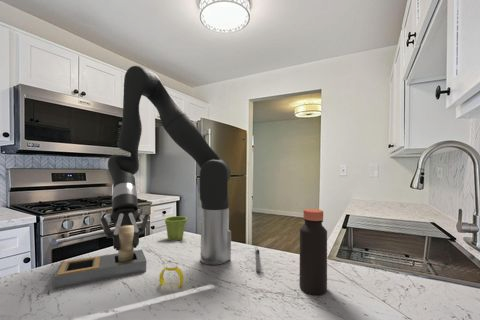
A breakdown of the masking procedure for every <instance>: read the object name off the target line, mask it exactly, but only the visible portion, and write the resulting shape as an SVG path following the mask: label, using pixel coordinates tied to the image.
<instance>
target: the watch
mask: <svg viewBox="0 0 480 320" xmlns="http://www.w3.org/2000/svg"><path fill="white" fill-rule="evenodd" d="M165 271H169V272H173V271H175V272H176V273H177V274H178V277H179V284H178V286H177V288H180V287H181V286H182V285H183V283H184V273H183V271H182V269H180V267H178V264H177V263H168V264H166V266H165V267H164V268H163V269H162V270H161V272H160V273H159V278H158V279H159V282H160V283H159V284H160V286H164V285H165V283H166V282H165V280H164V273H165Z"/></svg>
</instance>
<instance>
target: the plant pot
mask: <svg viewBox="0 0 480 320" xmlns="http://www.w3.org/2000/svg"><path fill="white" fill-rule="evenodd" d="M163 220H164V224H165V226H166V227H165V228H166V234H167V240H168V241H174V240H176V241H179V240H183V239H184V232H185V227H186V223H187V220H188V218H187V217H186V216H169V217H165V218H164V219H163Z"/></svg>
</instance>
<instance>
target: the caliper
mask: <svg viewBox="0 0 480 320" xmlns="http://www.w3.org/2000/svg"><path fill="white" fill-rule="evenodd" d="M254 252H255V272H260V267H261V266H260V263H261V262H260V256H261V255H260V249H259V247H258V246H257V245H255V246H254Z"/></svg>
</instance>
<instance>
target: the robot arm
mask: <svg viewBox="0 0 480 320" xmlns="http://www.w3.org/2000/svg"><path fill="white" fill-rule="evenodd" d="M123 80H124V82H123V98H122V99H123V101H122V119H121V126H120V132H119V136H118V139H117V140H118V141H117V147H118V148H119V149H120V150H123V151H125V152H128V153H130V155H122V154H113V155H111V156H110V157H109V158H108V162H107V169H108V172H109V174H110V176H111V179H112V194H111V195H112V196H111V197H112V198H111V204H112V205H111V207H112V208H111V214H110V216H109V217H108V216H107V217H101V218H100V225H101V228H102V230H103V232H104V234H105V237H106V239H113V240H112V241H113V244H112V245H113V246H112V247H113V250H115V251H118V250H119V227H120V226H125V225H133V226H134V245H133V246H134V248H133V249H136V248H137V246H139V243H140V235H144V233H145V230H146V228H147V224H148V220H149V216H150V214H149V213H145V214H141V212H140V211H139V202H138V201H139V200H138V192H137V186H136V177H135V175H136V174H137V173H138V172H139V169H140V161H139V160H140V159H139V146H140V141H141V138H142V137H141V136H142V133H143V132H142V131H143V128H142V127H143V125H142V121H141V120H142V119H141V115H140V102H141V98H142V96H143V97H146V98H147V99H148V100H149V102H151V104H152V105H153V106H154V107H155V108H156V110H157V112H158V116H159V120H160V123H161V125H162V128H163V129H164V131H165V132H166V133H167V134H168V135H169V137H170V139H172V141H174V143H175V144H176V145H177V146H179V147H180V149H182V150H183V151H184V152H186V154H187V155H189V156H190V157H191V158H192V159H193V160H194V161H195V162H196V164H197V165H198V167H199V168H200V170H199V200H200V203H201V209H200V211H201V212H200V213H201V214H200V218H201V219H200V220H201V221H200V254H199V255H200V261H201V262H202V263H203V264H205V265H209V266H210V265H211V266H214V265H221V264H225V263H227V262H228V261H231V259H232V258H231V257H232V256H231V255H232V252H231V251H232V231H231V230H230V229H229V227H230V226H229V225H230V224H229V223H230V199H229V195H228V189H229V187H228V186H229V185H228V182H229V181H230V179H231V173H232V172H231V169H230V166H229V164H228V163H227V162H225V161H224V159H222V158H221V157H220V156H219V155H218V153H216V152H215V150H213V148H212V147H211V146H210V145H209V143H208V142H207V141H206V138H205V137H204V136H203V134H202V133H201V132H200V130H199V129H198V128H197V126H196V125H195V123H194V122H193V121H192V119H191V118H190V117H189V116H188V115H187V113H186V112H185V111H184V110H183V109H182V107H180V105H179V104H178V103H177V101H175V99H174V98H173V97H172V96H171V95H170V93H169V92H168V90H167V88H166V87H165V86H164V84H163V82H162V80H161V78H159V76H158V74H156V73H155V72H153V71H151V70H149V69H146V68H144V67H142V66H139V65H133V66H130V67H129V68H128V69H127V70H126V72H125V76H124V79H123ZM139 219H140V222H141V225H140V226H141V227H138V225H137V222H138V221H139ZM111 222H112V223H113V225H115V229H114V231H112V229H111V228H110V223H111Z"/></svg>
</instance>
